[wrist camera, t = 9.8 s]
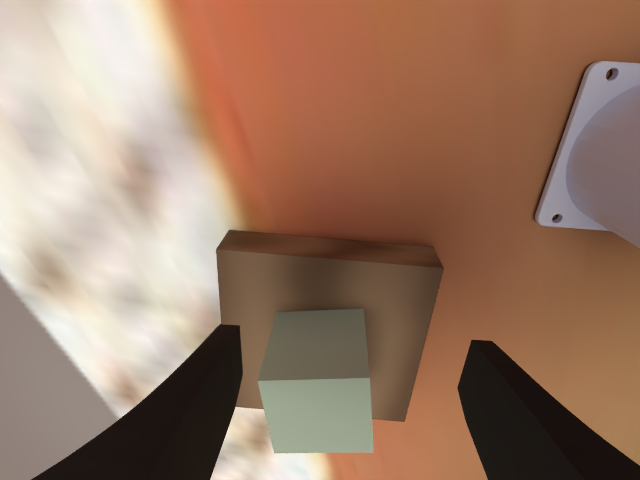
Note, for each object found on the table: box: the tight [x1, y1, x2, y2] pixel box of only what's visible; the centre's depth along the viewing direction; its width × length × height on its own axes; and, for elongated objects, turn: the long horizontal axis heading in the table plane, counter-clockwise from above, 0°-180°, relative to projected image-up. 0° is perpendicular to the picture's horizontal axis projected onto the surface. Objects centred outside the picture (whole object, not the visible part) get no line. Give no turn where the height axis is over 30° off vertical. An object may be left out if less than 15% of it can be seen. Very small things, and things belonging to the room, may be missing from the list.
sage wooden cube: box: [258, 308, 374, 453], centre depth 19 cm, size 5×5×5 cm
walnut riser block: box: [216, 230, 444, 422], centre depth 23 cm, size 12×12×3 cm
